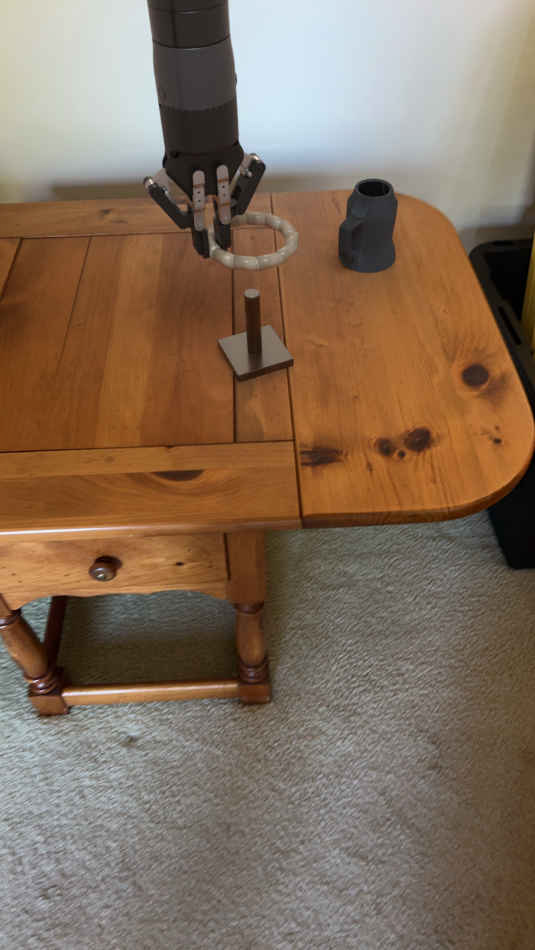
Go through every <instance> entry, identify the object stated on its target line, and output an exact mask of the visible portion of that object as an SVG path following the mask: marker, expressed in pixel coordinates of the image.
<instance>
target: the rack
mask: <svg viewBox="0 0 535 950" xmlns="http://www.w3.org/2000/svg"><path fill="white" fill-rule="evenodd" d="M243 300H244V316H245V317H244V318H245V331H243V332H239V333H237V334H233V335H229V336H225V337H223V338H218V339H217V340H216V342H217V347H218V349H219V351H220V352H221V354H222V356H223V358H224V359H225V361H226V363H227V365H228V366H229V368H230V370H231V372H232V373H233V375H234V378H235V379H236V380H237V382H238V383H241V382H245V381H248V380H250V379H254V378H257V377H260V376H264V375H267V374H270V373H273V372H277V371H280V370H284V369H286V368H290V367H294V363H295V361H294V358H293V356H292V354H291V352H290V351H289V350H288V348H287V346H285V344H284V342H283V340H281V338H280V336H279V335H278V334H277V332H276V331H275V329H274V327H272V325H271V324H268V325H264V326H262V310H261V292H260V290H259V289H257V288H248V289H245V291H244V292H243Z"/></svg>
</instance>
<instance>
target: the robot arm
mask: <svg viewBox="0 0 535 950" xmlns="http://www.w3.org/2000/svg"><path fill="white" fill-rule="evenodd" d="M146 5H147V11H148V19H149V27H150V33H151V43H152V44H151V45H152V67H153V68H152V69H153V76H154V83H155V90H156V97H157V103H158V110H159V118H160V124H161V131H162V137H163V145H164V155H163V157H162V161H161V166H162V167H161V168H160V169H159V171H158V172H157V173H156V174H154V175H153V176H151V175H148V176H145V177H144V178H143V180H142V184H143V186H144V188H145V190H146V192H147V193H148V194H149V196H150V197H151V198H152V200H153V201H154V202H155V203H156V204H157V206H159V208H161V209H162V210H163V212H164V213H165V214H166V215H167V216H168V217H169V218H170V219H171V220H172V222H173V223H174V224H175V225H176V227H178V228H179V229H181V230H186V229H190V234H191V241H192V247H193V248H194V250H195V252H196V254H197V255H198V256H201V257H202V259H203V260H206V259H211V257H210V249H209V239H208V230H207V226H206V218H205V217H206V216H205V210H206V197H208V196H210V197H211V202H212V211H213V213H214V216H212V221H213V222H212V223H213V224H214V235H215V241H216V242H217V244H218V245H219V247H220V248H221V249H223V250H225V251H227V252H228V249H230V248H231V247H232V243H233V241H232V230H231V229H232V228H230V222H231V219H232V218H233V217H235V216H236V215H243V214H244V213H245V212H246V211H248V207H249V205H250V203H251V202H252V199H253V197H254V195H255V194H256V191H257V188H258V187H259V184H260V182H261V180H262V178H263V177H264V174H265V172H266V170H267V165H266V164H265V163H264V161H263V160H262V159H261V157H260V156H258V155H257V154H256V153H255V152H250V153H247V152H245V151H244V148H243V147H242V145H241V142H240V129H239V112H238V96H237V95H238V94H237V93H238V92H237V85H238V75H237V72H236V61H235V55H234V54H235V53H234V48H233V43H232V37H231V21H230V19H231V18H230V3H229V0H146ZM238 171H239V173H238ZM237 173H238V174H239V175H238V177H237V179H236V181H235V183H234V186H233V188H232V190H231V192H230V185H231V184H232V182H233V180H234V178H235V176H236V174H237ZM170 180H171V181H172V182H173V183H174V184H175V185H176V187H178V188H179V189H180V190H181V191H182V192H183V193H184V194H183V195H184V199H185V204H186V210H182V209H181V208H180V207H179V206H178V205H177V203H175V201H174V200H173V199H172V198H171V197H170V194H171V191H172V189H171V186H170V184H169V182H170Z"/></svg>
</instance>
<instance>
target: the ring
mask: <svg viewBox="0 0 535 950" xmlns="http://www.w3.org/2000/svg"><path fill="white" fill-rule="evenodd" d="M242 226H243V227H244V226H260V227H267V228H269V229H272V230H274V231H276V232H278V233H280V234H281V235H282V236H283V238H284V239H285V242H284V245H283V246H282V247H280V248H279V249H278V250H276V251H274V252H272V253H267V254H263V255H258V256H251V255H250V256H248V255H238V254H234V253H231V252H229V251H228V250H227V251H225V250H223V249H221V248H220V247H219V245H218V244H217V242H216V241H215V235H214V224H213V222H212V223H210V224H209V225H208V226H206V228H207V230H208V239H209V249H210V259H211V260H212V261H214V262H215V263H217V264H220V265H222V266H225V267H227V268H228V269H231V270H237V271H238V270H239V271H250V272H260V271H263V270H264V271H265V270H269V269H272V268H277V267H280V266H282V265H283V264H285V263H286V262H287V261H289V260H290V259H291V258H293V257H294V256H296V255H297V252H298V248H299V242H300V234H299V232H298V231H297V230H296V229H295V227H294V226H293V225H292V223H290V221H288V220H287V219H285V218H282V217H279V216H277V215H275V214H272V213H270V212H263V211H262V212H261V211H250V210H249V211H248V210H246V212H245V213H244V214H243V215H236V216H235V217H233V218H232V219H231V222H230V228H231V229H233V228H238V227H242Z"/></svg>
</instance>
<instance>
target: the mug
mask: <svg viewBox="0 0 535 950" xmlns="http://www.w3.org/2000/svg"><path fill="white" fill-rule="evenodd" d="M346 201H347V202H346V210H345V211H346V212H345V219H344V220H343V221H342V222H341V223H340V224H339V227H338V240H337V243H338V244H337V254H338V255H337V257H338V260H339V263H341V264H342V265H343V266H344V267H345V268H348V269H349V270H350V271H354V272H357V273H367V274H372V273H379V272H383V271H386V270H387V269H389V268H391V267H392V266H393V265H394V264H395V262H396V258H397V255H396V254H397V253H396V245H395V243H394V240H393V237H394V236H393V235H394V229H395V224H396V222H397V221H396V220H397V213H398V207H399V206H398V205H399V201H398V198H397V196H396V195H395V189H394V187H393V185H392V183H391V182H389V181H388V180H386V179H385V180H384V179H383V178H382V179H381V178H375V177H374V178H373V177H372V178H365V179H361V180H360V181H358V182H357V183H356V184H355V185H354V188H353V191H352V192H351V193H350V195H349V196H348V197H347V200H346Z"/></svg>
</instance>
